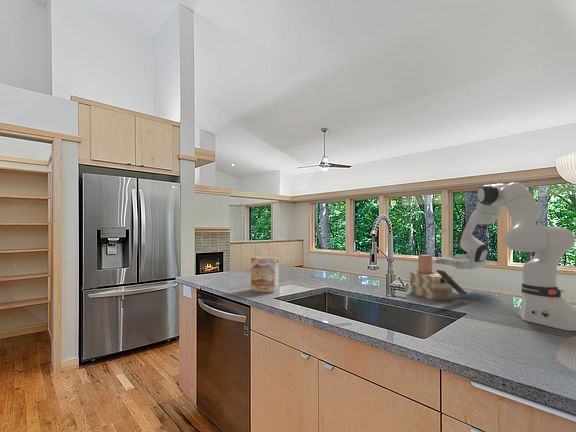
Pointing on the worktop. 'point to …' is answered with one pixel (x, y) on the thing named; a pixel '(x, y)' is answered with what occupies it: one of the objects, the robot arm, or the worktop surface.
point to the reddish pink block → (425, 263)
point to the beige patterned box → (430, 286)
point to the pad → (459, 296)
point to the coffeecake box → (264, 274)
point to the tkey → (451, 282)
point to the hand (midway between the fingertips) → (441, 262)
